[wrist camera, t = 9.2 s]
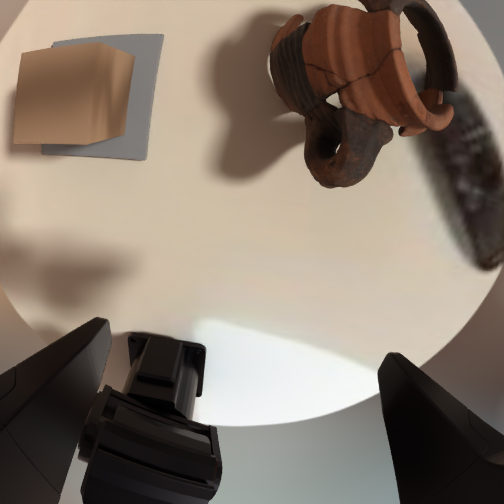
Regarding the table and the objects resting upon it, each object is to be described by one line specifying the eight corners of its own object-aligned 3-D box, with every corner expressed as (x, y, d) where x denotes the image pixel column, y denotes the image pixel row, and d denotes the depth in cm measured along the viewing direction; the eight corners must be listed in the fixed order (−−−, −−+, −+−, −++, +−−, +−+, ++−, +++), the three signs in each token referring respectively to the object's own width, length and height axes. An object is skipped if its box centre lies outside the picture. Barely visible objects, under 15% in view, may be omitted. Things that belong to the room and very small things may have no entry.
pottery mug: (277, -12, 14) (381, -60, 7) (373, 56, 19) (469, 48, 13) (222, 161, 16) (338, 173, 9) (341, 201, 21) (446, 229, 15)
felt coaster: (146, 159, 18) (144, 160, 18) (44, 153, 18) (41, 154, 17) (164, 35, 15) (162, 34, 15) (56, 43, 14) (53, 42, 14)
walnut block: (124, 134, 17) (86, 144, 13) (59, 132, 17) (13, 143, 12) (135, 56, 15) (99, 42, 11) (67, 60, 15) (21, 53, 10)
